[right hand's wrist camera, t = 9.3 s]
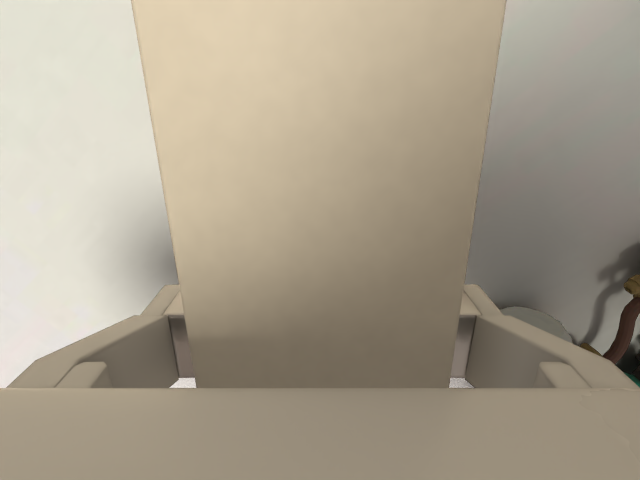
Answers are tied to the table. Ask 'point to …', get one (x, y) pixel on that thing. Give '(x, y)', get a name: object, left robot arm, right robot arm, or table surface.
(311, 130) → the beam
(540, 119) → the table surface
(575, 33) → the table surface
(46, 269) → the table surface
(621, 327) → the spray gun
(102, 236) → the table surface
